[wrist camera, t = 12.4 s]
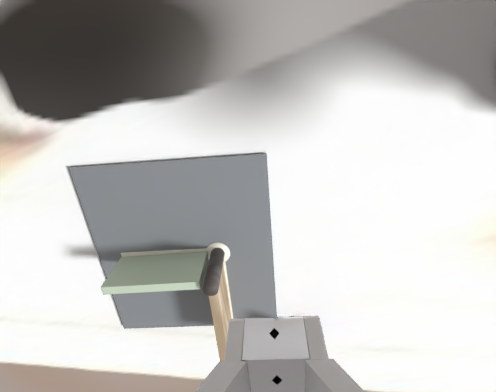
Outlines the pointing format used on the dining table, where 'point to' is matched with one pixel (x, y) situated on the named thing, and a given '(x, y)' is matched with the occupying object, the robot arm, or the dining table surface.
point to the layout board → (184, 230)
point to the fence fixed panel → (218, 298)
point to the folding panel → (156, 273)
